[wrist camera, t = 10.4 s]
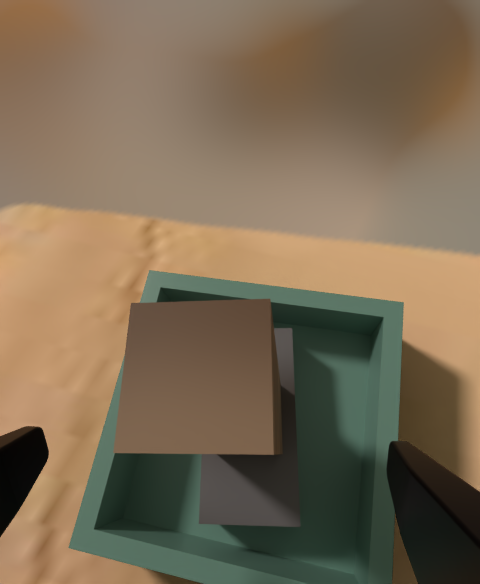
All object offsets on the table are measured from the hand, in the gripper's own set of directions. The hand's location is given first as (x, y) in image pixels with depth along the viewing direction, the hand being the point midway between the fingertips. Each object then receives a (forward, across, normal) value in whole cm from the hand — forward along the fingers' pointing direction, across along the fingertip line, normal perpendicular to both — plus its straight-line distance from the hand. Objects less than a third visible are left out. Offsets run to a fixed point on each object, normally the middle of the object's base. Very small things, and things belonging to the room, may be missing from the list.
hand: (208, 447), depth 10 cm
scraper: (+8, 0, -6) cm, 10 cm away
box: (+8, 0, -6) cm, 11 cm away
